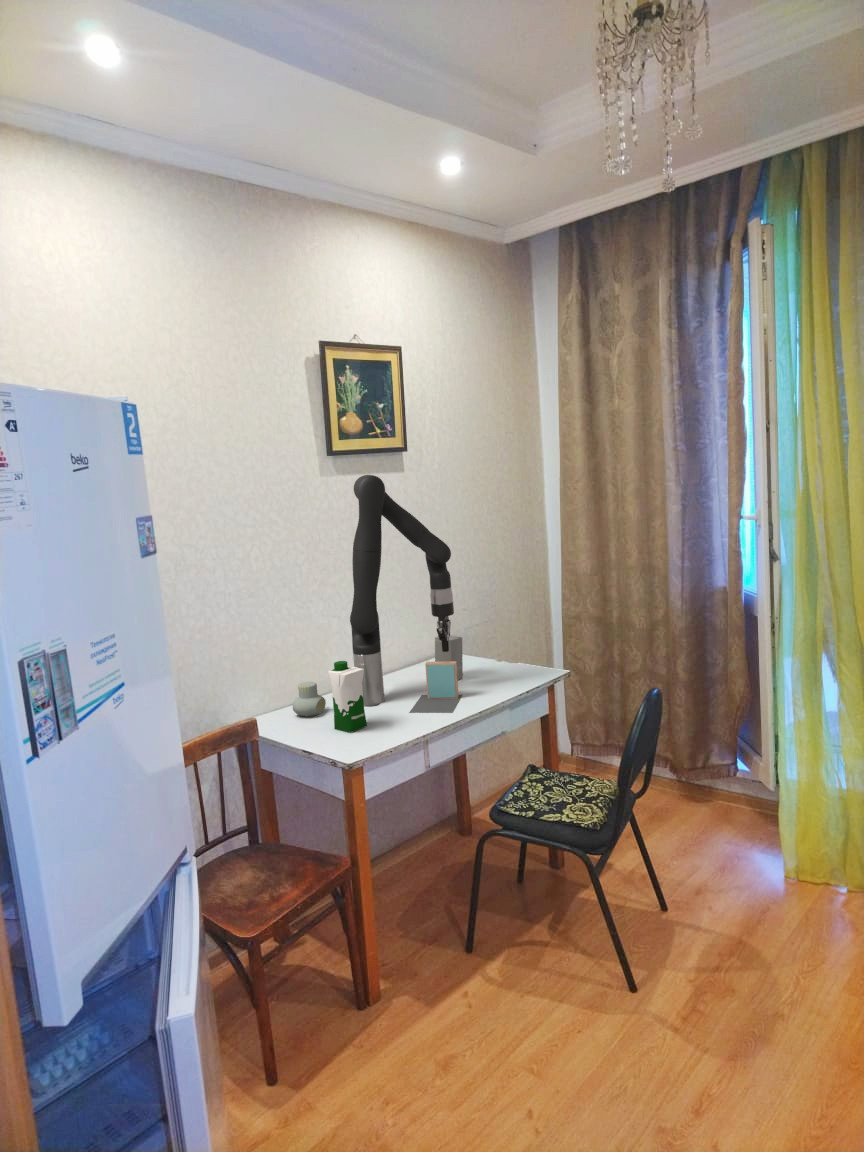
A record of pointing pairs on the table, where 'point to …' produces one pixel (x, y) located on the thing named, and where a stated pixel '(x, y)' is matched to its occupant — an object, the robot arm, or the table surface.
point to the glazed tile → (442, 680)
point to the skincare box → (450, 653)
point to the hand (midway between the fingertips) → (445, 651)
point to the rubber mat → (435, 705)
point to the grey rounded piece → (308, 700)
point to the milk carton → (347, 697)
